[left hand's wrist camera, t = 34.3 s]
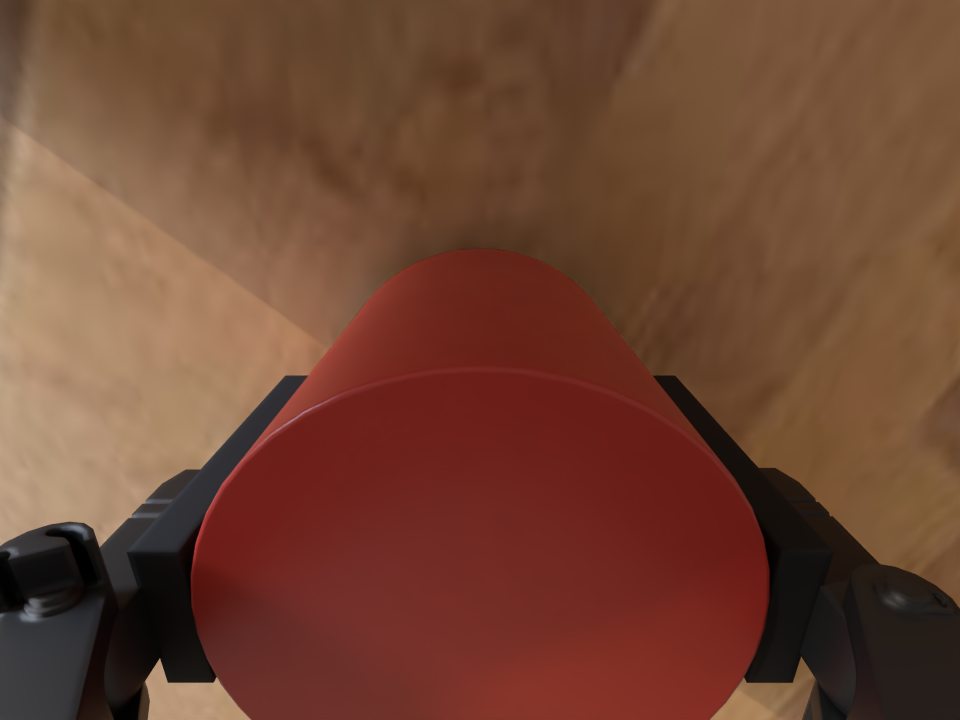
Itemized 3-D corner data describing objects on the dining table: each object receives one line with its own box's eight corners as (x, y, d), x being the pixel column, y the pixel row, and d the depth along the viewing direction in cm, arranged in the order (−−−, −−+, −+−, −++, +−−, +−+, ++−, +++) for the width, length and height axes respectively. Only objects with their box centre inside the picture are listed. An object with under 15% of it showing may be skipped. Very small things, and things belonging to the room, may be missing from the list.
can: (344, 230, 15) (156, 328, 6) (648, 267, 15) (867, 407, 6) (339, 488, 18) (210, 788, 9) (589, 513, 18) (684, 823, 10)
